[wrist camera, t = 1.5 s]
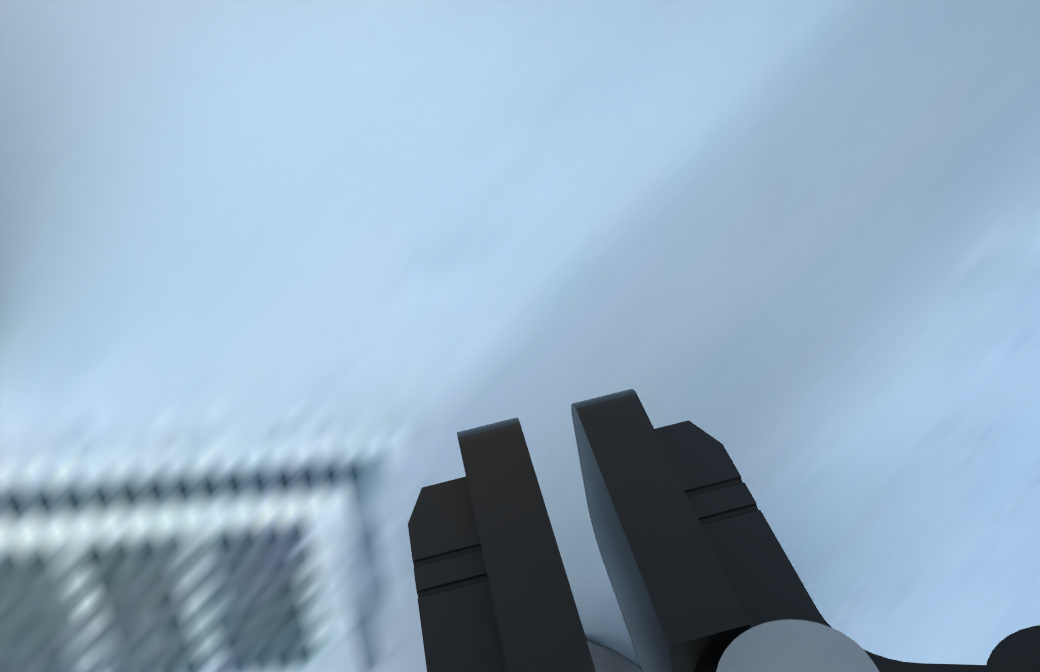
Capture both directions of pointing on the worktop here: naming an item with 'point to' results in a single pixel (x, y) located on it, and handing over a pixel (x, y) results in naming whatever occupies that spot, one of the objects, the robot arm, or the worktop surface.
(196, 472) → the worktop surface
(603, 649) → the coffeepot
